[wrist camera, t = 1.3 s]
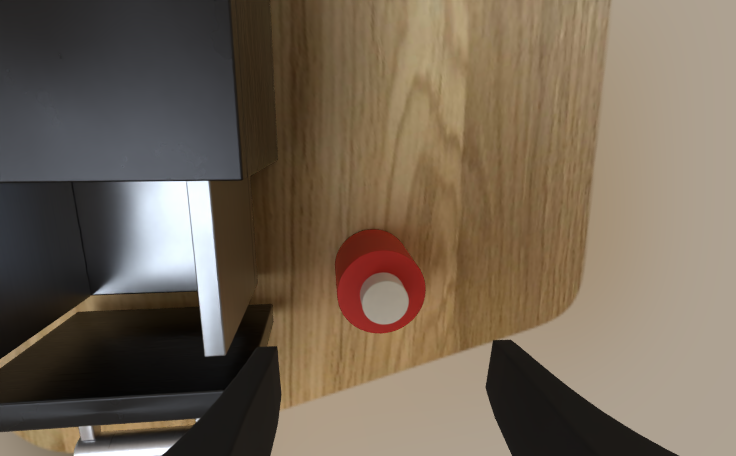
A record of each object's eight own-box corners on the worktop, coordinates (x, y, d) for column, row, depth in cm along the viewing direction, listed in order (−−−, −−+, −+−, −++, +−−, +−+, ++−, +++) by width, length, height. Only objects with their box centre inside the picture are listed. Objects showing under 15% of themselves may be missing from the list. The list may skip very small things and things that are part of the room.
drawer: (277, 386, 24) (255, 503, 16) (93, 397, 23) (-22, 529, 15) (260, 95, 20) (221, 72, 12) (37, 92, 19) (-155, 65, 11)
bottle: (407, 297, 24) (430, 343, 19) (335, 300, 24) (338, 348, 19) (409, 228, 23) (434, 256, 18) (334, 230, 23) (337, 259, 18)
